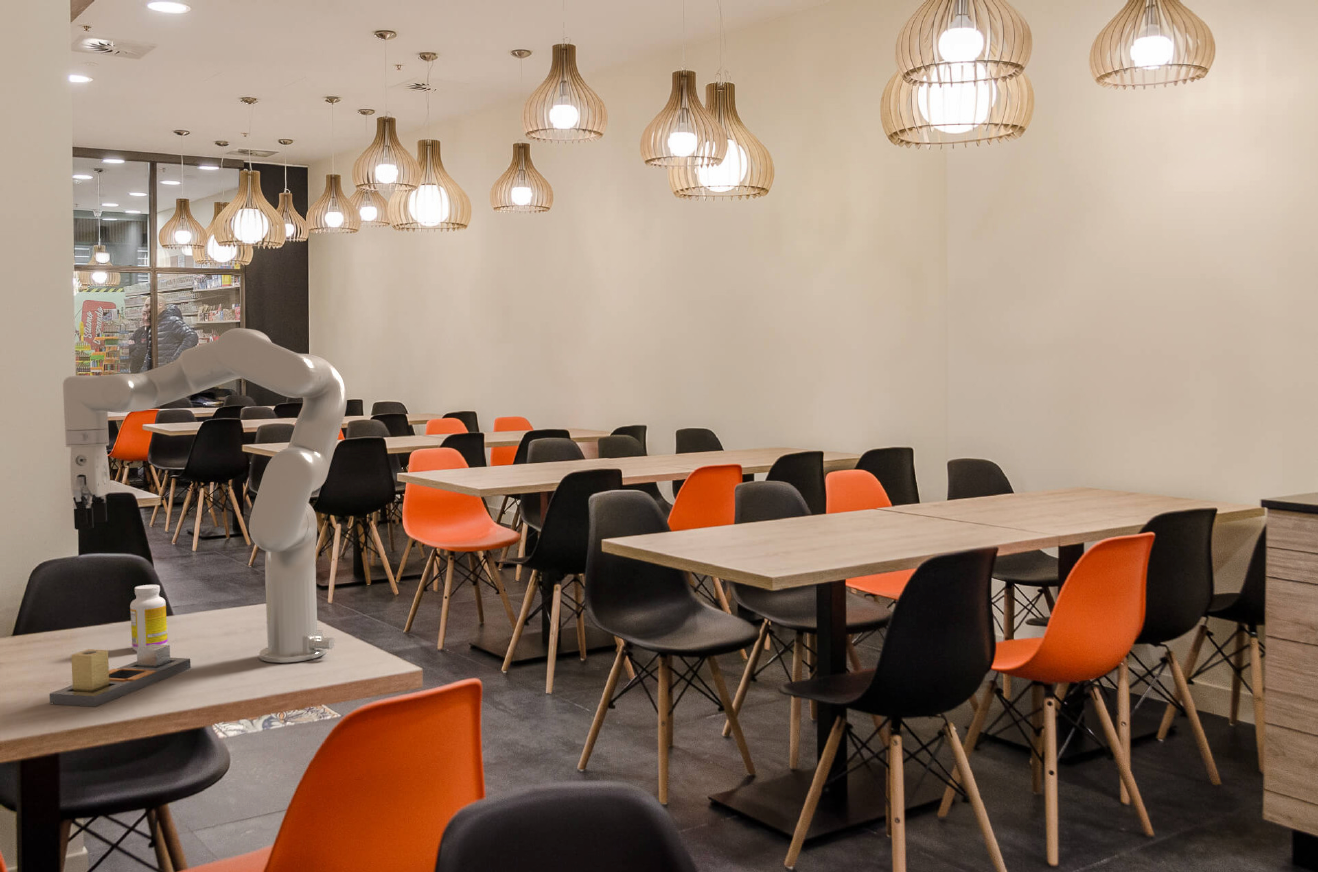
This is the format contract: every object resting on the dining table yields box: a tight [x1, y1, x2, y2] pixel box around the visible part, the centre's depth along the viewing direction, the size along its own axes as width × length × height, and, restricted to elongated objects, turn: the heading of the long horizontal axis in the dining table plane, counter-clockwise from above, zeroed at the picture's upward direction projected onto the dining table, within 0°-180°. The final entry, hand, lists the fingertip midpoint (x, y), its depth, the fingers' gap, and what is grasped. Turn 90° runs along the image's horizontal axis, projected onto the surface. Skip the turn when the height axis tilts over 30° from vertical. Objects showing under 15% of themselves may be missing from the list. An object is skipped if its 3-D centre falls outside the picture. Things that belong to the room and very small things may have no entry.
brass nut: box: [70, 648, 110, 693], centre depth 190 cm, size 4×4×8 cm
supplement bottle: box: [129, 584, 169, 652], centre depth 225 cm, size 7×7×13 cm
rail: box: [49, 657, 192, 708], centre depth 198 cm, size 9×25×2 cm, turn 167°
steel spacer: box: [136, 644, 171, 668], centre depth 205 cm, size 4×4×5 cm
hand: (91, 525), depth 214 cm, fingers open, 9 cm apart
